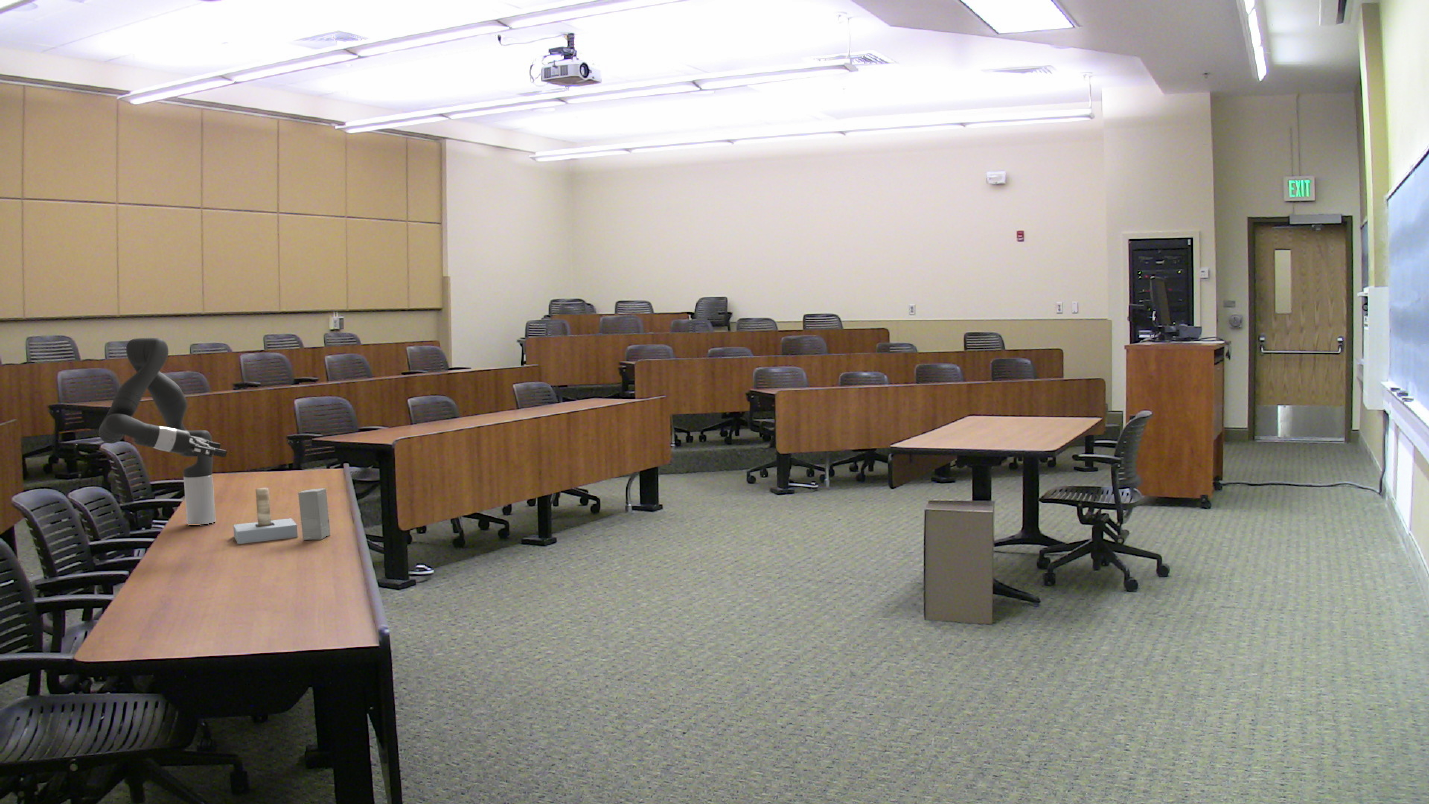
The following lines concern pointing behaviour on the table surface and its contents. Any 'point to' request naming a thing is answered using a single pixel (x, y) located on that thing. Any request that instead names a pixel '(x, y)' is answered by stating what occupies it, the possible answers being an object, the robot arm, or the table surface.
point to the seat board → (265, 531)
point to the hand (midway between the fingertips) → (222, 450)
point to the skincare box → (314, 514)
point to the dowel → (263, 507)
